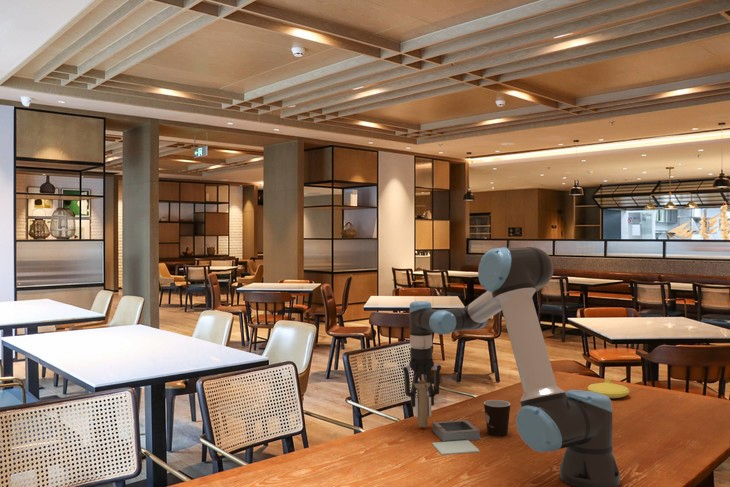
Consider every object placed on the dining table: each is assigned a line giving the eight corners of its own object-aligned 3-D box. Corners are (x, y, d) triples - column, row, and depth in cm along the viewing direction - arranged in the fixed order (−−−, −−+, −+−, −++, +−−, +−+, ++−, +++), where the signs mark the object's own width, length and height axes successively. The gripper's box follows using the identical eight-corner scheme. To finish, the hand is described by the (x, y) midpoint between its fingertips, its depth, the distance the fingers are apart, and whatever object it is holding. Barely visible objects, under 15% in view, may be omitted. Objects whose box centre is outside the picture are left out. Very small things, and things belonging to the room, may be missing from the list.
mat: (479, 451, 186) (479, 450, 186) (441, 455, 184) (441, 453, 184) (468, 441, 196) (468, 440, 196) (432, 444, 194) (432, 442, 194)
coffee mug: (511, 438, 198) (510, 407, 198) (484, 437, 200) (483, 406, 200) (510, 427, 210) (509, 398, 210) (484, 426, 212) (484, 397, 211)
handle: (411, 426, 211) (410, 382, 211) (426, 423, 214) (425, 379, 214) (418, 429, 207) (417, 384, 207) (434, 426, 210) (433, 382, 210)
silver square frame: (479, 439, 198) (479, 429, 198) (443, 442, 195) (443, 432, 195) (466, 428, 209) (466, 418, 209) (432, 431, 207) (432, 421, 207)
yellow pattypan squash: (632, 394, 251) (632, 377, 251) (625, 403, 238) (625, 385, 238) (592, 390, 259) (591, 373, 259) (583, 398, 246) (583, 380, 246)
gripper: (441, 344, 216) (443, 411, 216) (394, 346, 212) (395, 414, 212) (448, 347, 208) (450, 416, 208) (399, 350, 205) (400, 420, 205)
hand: (422, 415), depth 210 cm, fingers closed on handle, 4 cm apart
